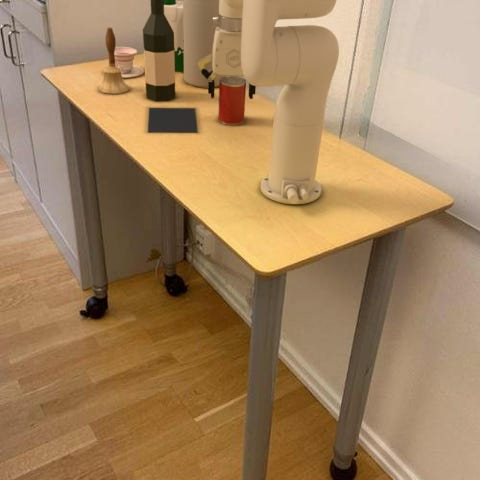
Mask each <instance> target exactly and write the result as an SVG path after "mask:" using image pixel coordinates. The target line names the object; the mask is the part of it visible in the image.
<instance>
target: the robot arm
mask: <svg viewBox="0 0 480 480" xmlns="http://www.w3.org/2000/svg"><path fill="white" fill-rule="evenodd" d="M336 3H337V0H219V15H217V17H213V18H212V23H216V24H217V25H218V26H219V27H217V28H216V30H215V35H214V41H213V51H212V54H210V55H208V56H206V57H204V58H202V59H200V60H198V61H197V65H198V67H199V69H200V71H201V73H202V75H203V76H204V77H205V78H206V79H207V80H208V88H207V94H209V95H210V98H211V99H215V88H216V87H215V82H214V78H215V77H216V76H217V75H219V76H235V77H243V79H245V80H246V83H248V97H249V99H250V100H253V99H254V95H256V90H257V89H256V88H257V87H272V86H273V87H275V86H276V87H277V86H283V88H282V90H281V91H280V93H279V95H278V96H277V99H276V102H275V106H274V114H273V125H272V137H271V147H270V148H271V149H270V160H269V169H268V170H269V171H268V172H269V173H268V175H266V176H265V177H263V179H262V180H261V182H260V191H261V193H262V194H263V196H265V197H266V198H268V199H270V200H272V201H275V202H277V203H279V204H285V205H286V204H287V205H305V204H310V203H312V202H314V201H316V200H318V199H319V198H320V196H321V194H322V189H323V188H322V184H320V182H319V181H318V180H317V179H316V177H317V171H318V170H317V169H318V164H319V156H320V148H321V141H322V135H323V127H324V121H325V115H326V107H327V103H328V102H327V101H328V96H329V91H330V88H331V84H332V81H333V78H334V75H335V72H336V69H337V65H338V62H339V56H340V45H339V41H338V39H337V37H336V35H335V34H334V32H333V31H332V30H330V29H328V28H327V27H324V26H321V25H315V24H312V25H311V24H307V25H306V24H305V25H286V26H276V24H277V22H278V21H279V20H303V19H304V20H305V19H306V20H307V19H317V18H322V17H326V16H328V15H330V13H332V12H333V10H334V8H335V6H336ZM211 61H212V70H211V71H210V72H208V71H207V70H206V69H205V67H204V65H205V64H207V63H209V62H211Z"/></svg>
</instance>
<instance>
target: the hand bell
mask: <svg viewBox="0 0 480 480" xmlns="http://www.w3.org/2000/svg"><path fill="white" fill-rule="evenodd" d="M116 42H117V41H116V35H115V33H114V31H113V27H107V28H106V33H105V46H106V50H107V53H108V66H109V67H108V66H106V67H107V68H106V67H105V68H106V69H105V68H104V69H105V70H104V69H103V80H102V83H101V84H100V85H99V87H98V91H99V92H101V93H103V94H108V95H120V94H121V95H122V94H125V93H127V92H129V91H130V88H129V86H128V85H127V84H126V83H125V80H124V78H122V75H121V70H120V69H119V68H117V67H116V66H115V56H114V52H115V47H117V45H116V44H117V43H116Z"/></svg>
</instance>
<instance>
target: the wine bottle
mask: <svg viewBox="0 0 480 480" xmlns="http://www.w3.org/2000/svg"><path fill="white" fill-rule="evenodd" d="M142 41H143V44H142V45H143V61H144V62H143V63H144V78H145V80H144V81H145V96H146V99H147V100H150V101H153V102H169V101H172V100H174V99H176V71H175V58H174V32H173V30H172V28H171V26H170V24H169V22H168V20H167V18H166V17H165V15H164V0H150V15H149V17H148V19H147V20H146V22H145V24H144V26H143V29H142Z"/></svg>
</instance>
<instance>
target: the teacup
mask: <svg viewBox="0 0 480 480" xmlns="http://www.w3.org/2000/svg"><path fill="white" fill-rule="evenodd" d="M137 52H138V50H137V49H136V48H133V47H129V46H115V52H114V56H115V66H116V67H117V68H119V69H120V70H121V75H122V78H123V79H129V78H136V77H139V76H142V75H143V74H145V68H143V67H141V66H139V65H136V64H134V59H135V56H136V54H137ZM107 67H109V65H108V66H106V67H104V69H103V71H104V70H105V69H106V68H107Z"/></svg>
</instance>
